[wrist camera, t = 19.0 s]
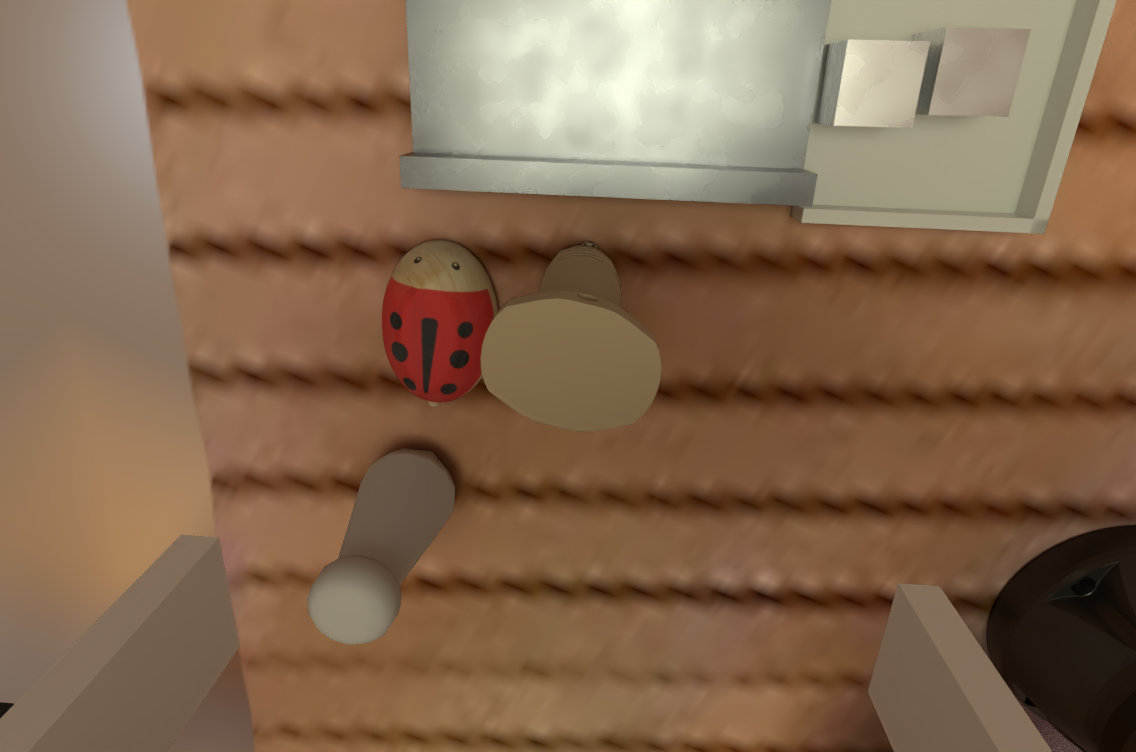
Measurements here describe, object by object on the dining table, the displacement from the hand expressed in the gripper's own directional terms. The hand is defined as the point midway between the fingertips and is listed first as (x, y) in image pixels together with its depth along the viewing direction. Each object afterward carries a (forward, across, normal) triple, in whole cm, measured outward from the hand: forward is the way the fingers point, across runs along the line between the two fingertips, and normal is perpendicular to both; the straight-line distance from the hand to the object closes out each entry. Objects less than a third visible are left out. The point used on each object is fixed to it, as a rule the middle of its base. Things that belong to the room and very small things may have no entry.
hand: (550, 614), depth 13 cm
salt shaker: (+27, +10, +14) cm, 32 cm away
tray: (+27, -17, -11) cm, 33 cm away
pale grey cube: (+26, -17, -11) cm, 33 cm away
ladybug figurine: (+27, +8, +3) cm, 29 cm away
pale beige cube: (+26, -12, -10) cm, 31 cm away
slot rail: (+27, -1, -11) cm, 29 cm away
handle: (+27, 0, -1) cm, 27 cm away
